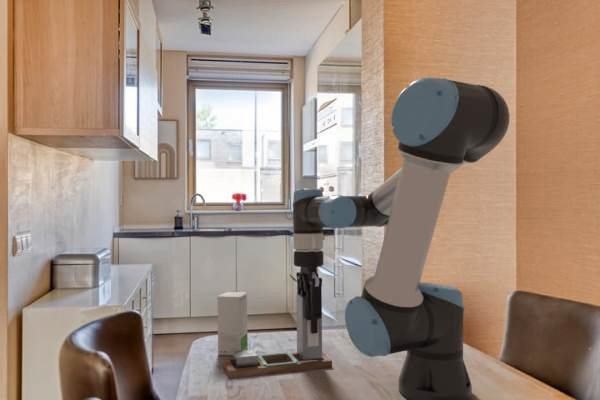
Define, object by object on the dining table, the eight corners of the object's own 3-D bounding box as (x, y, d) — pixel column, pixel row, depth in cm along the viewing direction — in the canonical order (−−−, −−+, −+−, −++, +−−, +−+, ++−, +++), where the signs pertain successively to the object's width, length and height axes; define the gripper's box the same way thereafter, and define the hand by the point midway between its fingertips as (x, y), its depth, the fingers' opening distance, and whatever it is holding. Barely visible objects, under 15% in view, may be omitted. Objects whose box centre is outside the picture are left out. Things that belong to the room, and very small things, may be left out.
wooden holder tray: (332, 366, 123) (332, 359, 123) (229, 377, 115) (229, 369, 115) (319, 355, 132) (319, 348, 132) (223, 364, 124) (223, 357, 124)
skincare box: (240, 356, 131) (240, 297, 131) (215, 355, 132) (215, 296, 132) (248, 347, 139) (248, 291, 139) (225, 346, 140) (225, 290, 140)
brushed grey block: (322, 357, 124) (321, 297, 124) (302, 359, 122) (302, 298, 123) (315, 352, 129) (315, 293, 129) (297, 354, 127) (296, 295, 127)
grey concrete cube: (257, 372, 120) (257, 355, 120) (236, 374, 118) (236, 357, 118) (253, 365, 124) (253, 349, 124) (233, 367, 123) (233, 351, 123)
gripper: (335, 252, 118) (336, 351, 118) (311, 247, 136) (312, 333, 135) (305, 253, 116) (306, 354, 116) (284, 248, 133) (285, 335, 133)
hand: (309, 342), depth 126 cm, fingers closed on brushed grey block, 5 cm apart
